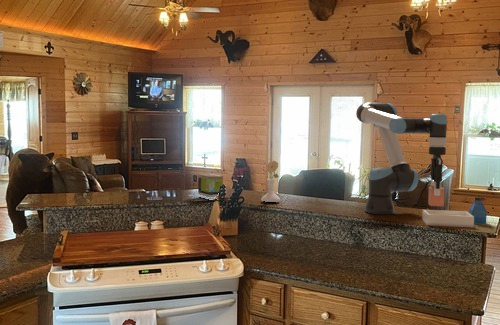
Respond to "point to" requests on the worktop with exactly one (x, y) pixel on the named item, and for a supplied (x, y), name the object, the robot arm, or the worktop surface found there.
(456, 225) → the tray
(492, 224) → the worktop surface
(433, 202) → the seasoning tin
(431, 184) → the mixing ball
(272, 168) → the flower in vase
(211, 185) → the tea box
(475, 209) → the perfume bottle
